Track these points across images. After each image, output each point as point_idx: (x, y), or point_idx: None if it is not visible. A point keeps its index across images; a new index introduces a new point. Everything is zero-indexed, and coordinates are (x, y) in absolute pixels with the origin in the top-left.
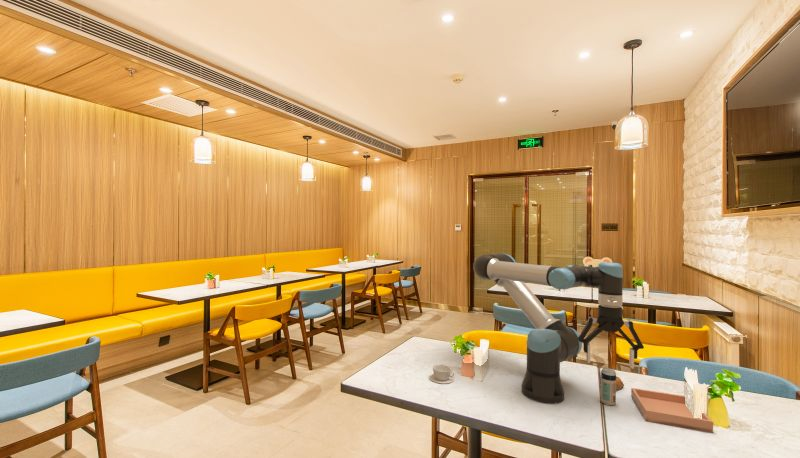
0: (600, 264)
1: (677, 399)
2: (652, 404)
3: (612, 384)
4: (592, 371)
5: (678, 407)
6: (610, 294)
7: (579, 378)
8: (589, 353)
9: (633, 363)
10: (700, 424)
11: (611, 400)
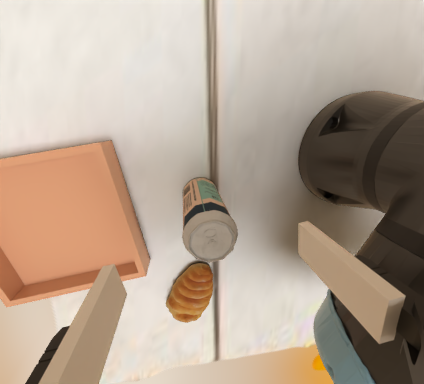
0: None
1: (40, 287)
2: (99, 235)
3: (194, 200)
4: (229, 337)
5: (40, 255)
6: None
7: (257, 287)
8: (337, 252)
9: (93, 288)
10: None
11: (193, 183)
